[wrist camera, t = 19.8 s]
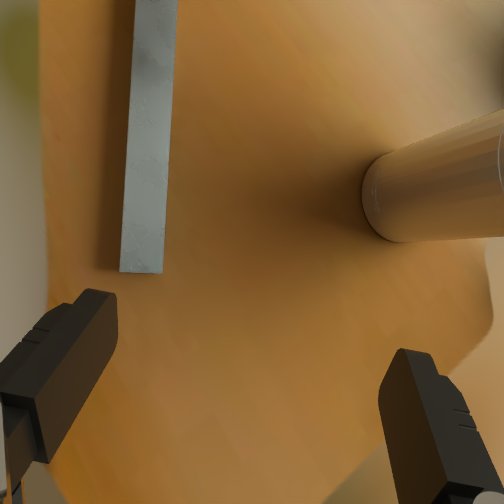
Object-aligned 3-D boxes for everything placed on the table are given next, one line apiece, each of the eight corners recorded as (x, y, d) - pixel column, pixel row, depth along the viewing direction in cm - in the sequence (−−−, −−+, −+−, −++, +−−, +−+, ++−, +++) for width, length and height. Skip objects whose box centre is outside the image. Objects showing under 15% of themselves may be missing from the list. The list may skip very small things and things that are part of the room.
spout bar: (157, 272, 31) (162, 273, 28) (118, 270, 30) (119, 271, 27) (172, 9, 32) (178, -15, 29) (135, -1, 31) (137, -27, 28)
